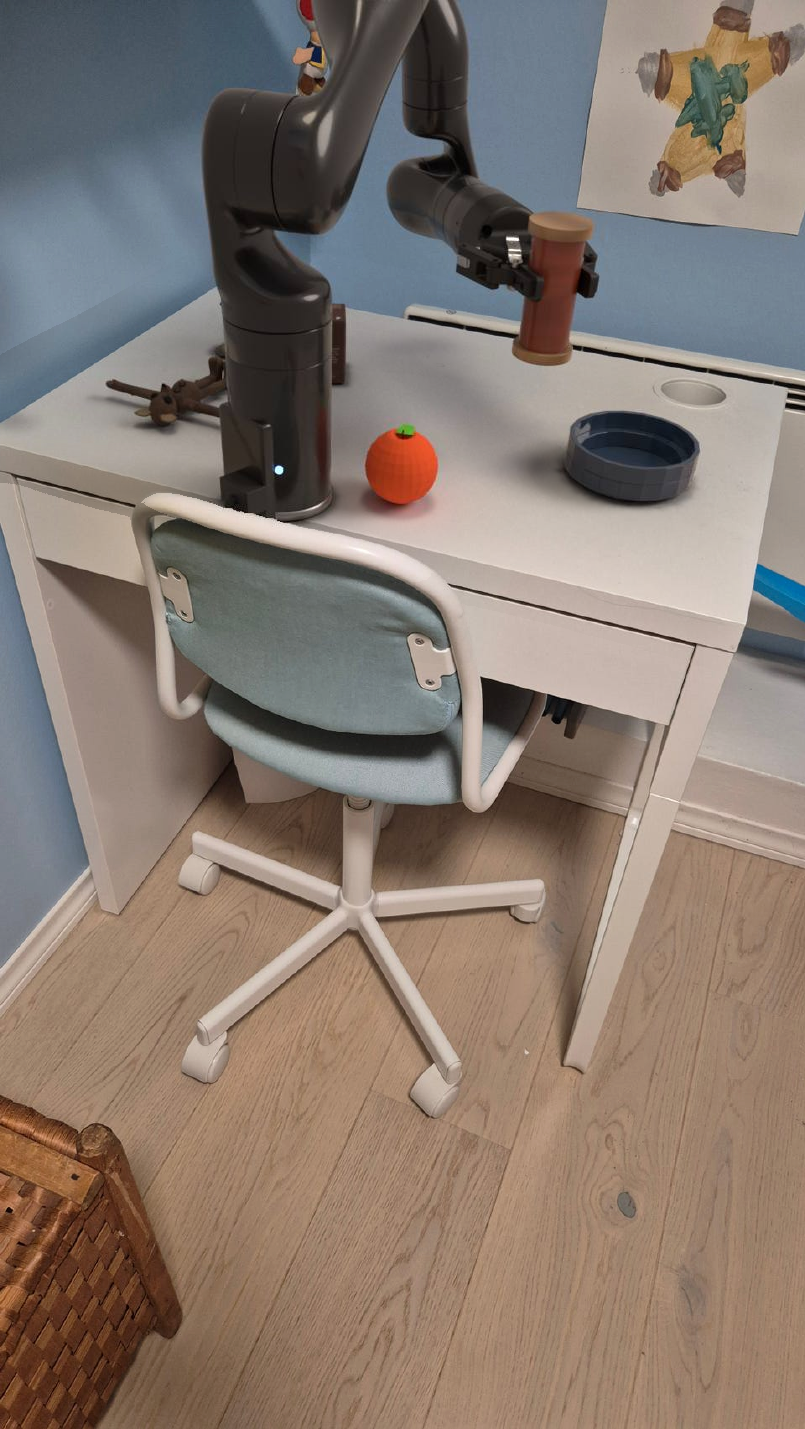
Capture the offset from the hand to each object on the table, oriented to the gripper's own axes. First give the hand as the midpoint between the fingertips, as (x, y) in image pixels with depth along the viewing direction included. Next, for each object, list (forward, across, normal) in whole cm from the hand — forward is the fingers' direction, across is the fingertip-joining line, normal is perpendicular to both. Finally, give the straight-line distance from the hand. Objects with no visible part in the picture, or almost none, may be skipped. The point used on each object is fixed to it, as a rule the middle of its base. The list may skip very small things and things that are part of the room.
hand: (566, 288), depth 88 cm
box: (-29, -15, +18) cm, 37 cm away
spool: (-3, 0, +7) cm, 7 cm away
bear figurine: (-24, -31, +19) cm, 43 cm away
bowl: (+3, +9, +18) cm, 21 cm away
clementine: (+1, -15, +18) cm, 24 cm away
